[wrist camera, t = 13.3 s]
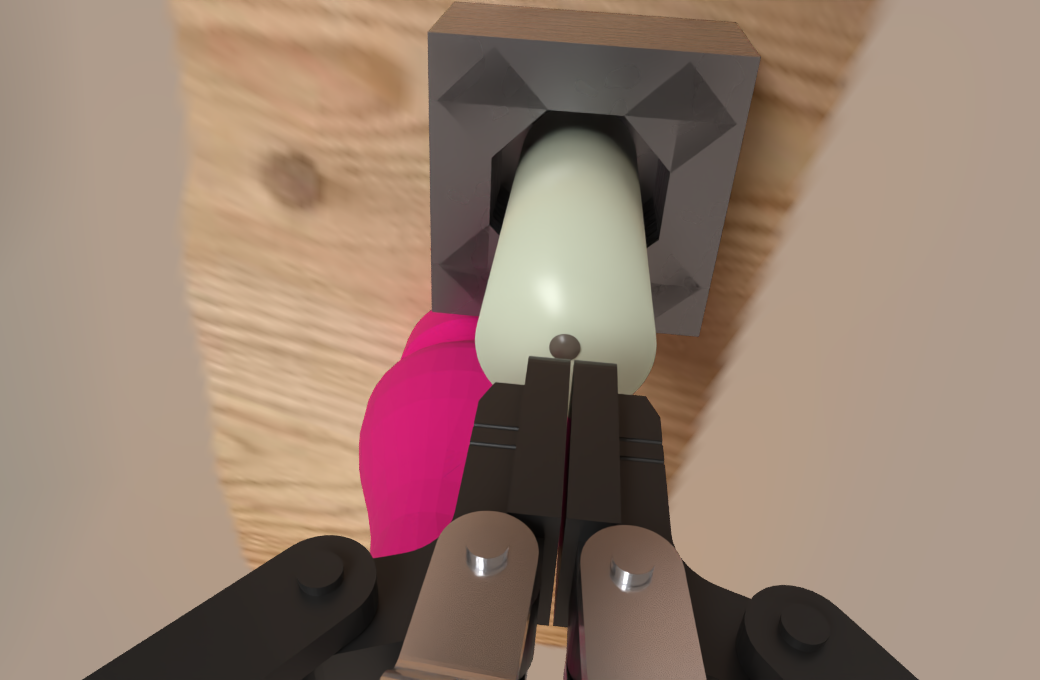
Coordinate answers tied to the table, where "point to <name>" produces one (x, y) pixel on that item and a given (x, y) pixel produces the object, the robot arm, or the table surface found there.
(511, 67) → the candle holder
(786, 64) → the table surface
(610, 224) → the candle
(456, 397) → the pepper mill
